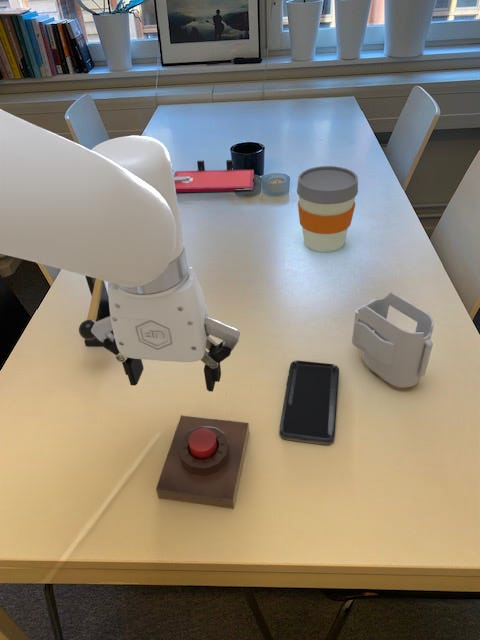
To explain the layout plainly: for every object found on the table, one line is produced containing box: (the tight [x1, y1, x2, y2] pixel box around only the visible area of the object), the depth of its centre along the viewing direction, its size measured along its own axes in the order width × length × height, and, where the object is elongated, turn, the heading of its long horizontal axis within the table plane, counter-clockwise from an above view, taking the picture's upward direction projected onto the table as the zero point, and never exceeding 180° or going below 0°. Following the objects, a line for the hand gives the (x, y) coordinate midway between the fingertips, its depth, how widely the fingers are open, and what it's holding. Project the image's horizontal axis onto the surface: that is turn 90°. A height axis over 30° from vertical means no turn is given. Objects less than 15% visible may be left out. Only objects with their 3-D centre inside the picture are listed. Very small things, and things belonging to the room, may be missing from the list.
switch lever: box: [78, 279, 105, 340], centre depth 80 cm, size 15×3×3 cm, turn 176°
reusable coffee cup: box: [296, 165, 359, 253], centre depth 105 cm, size 12×13×15 cm
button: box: [189, 429, 217, 459], centre depth 64 cm, size 4×4×2 cm
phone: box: [278, 360, 340, 446], centre depth 74 cm, size 8×1×15 cm
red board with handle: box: [173, 159, 255, 193], centre depth 137 cm, size 30×3×15 cm
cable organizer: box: [351, 291, 435, 388], centre depth 75 cm, size 7×12×12 cm, turn 35°
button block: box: [155, 415, 250, 510], centre depth 66 cm, size 12×10×4 cm
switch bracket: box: [83, 275, 113, 347], centre depth 87 cm, size 12×9×15 cm
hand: (174, 380), depth 61 cm, fingers open, 9 cm apart
